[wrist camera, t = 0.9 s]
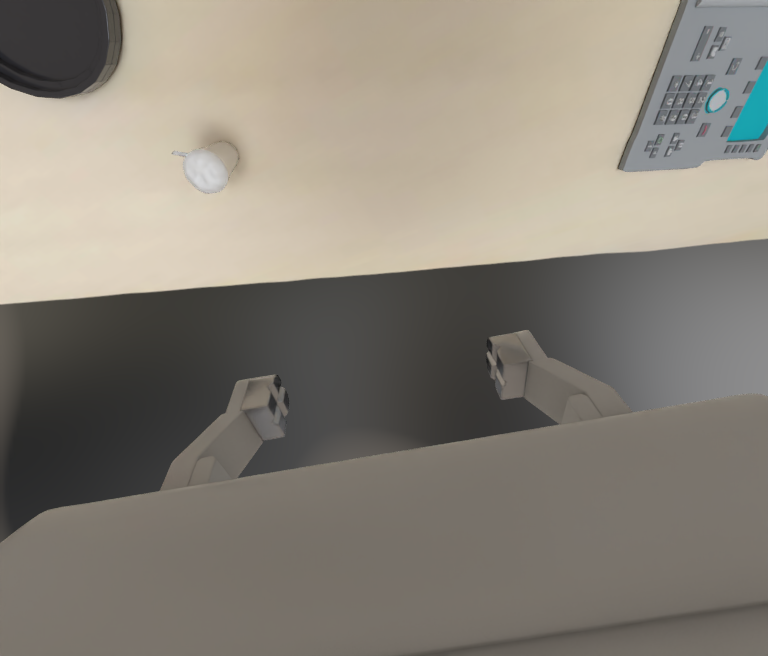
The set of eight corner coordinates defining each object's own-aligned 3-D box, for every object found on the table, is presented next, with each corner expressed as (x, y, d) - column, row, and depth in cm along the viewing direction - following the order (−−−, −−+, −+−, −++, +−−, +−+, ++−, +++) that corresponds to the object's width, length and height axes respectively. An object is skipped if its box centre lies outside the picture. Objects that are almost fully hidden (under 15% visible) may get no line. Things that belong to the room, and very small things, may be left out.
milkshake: (215, 120, 43) (186, 136, 35) (251, 157, 45) (231, 180, 38) (193, 146, 44) (159, 167, 36) (229, 181, 47) (205, 207, 39)
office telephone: (728, -83, 34) (919, -82, 35) (706, -75, 36) (887, -75, 37) (628, 174, 48) (766, 169, 49) (616, 169, 50) (749, 165, 51)
